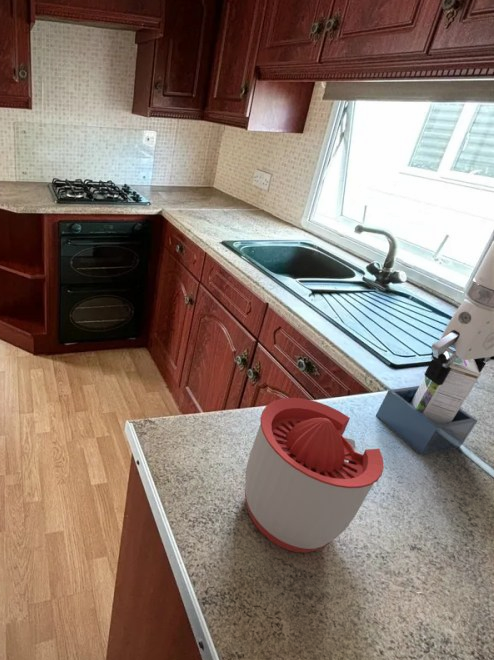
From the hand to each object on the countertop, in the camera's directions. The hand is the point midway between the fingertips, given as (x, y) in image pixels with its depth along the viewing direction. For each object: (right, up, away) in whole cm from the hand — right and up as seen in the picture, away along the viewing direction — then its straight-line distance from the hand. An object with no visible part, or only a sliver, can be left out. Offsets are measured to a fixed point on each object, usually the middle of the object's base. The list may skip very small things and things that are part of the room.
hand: (449, 377), depth 77 cm
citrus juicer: (-36, -19, -14) cm, 43 cm away
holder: (-2, -12, +6) cm, 14 cm away
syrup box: (-1, -10, +5) cm, 11 cm away
